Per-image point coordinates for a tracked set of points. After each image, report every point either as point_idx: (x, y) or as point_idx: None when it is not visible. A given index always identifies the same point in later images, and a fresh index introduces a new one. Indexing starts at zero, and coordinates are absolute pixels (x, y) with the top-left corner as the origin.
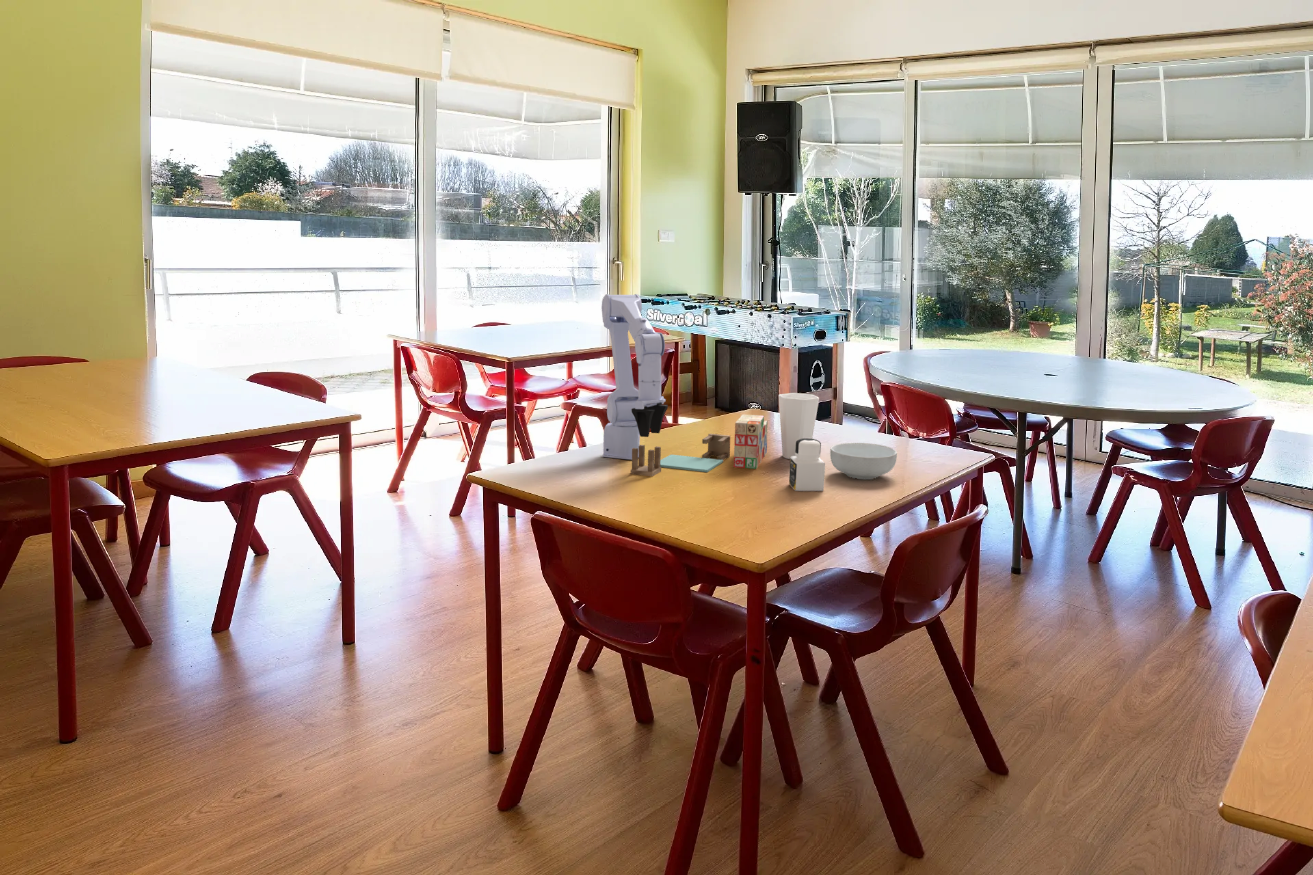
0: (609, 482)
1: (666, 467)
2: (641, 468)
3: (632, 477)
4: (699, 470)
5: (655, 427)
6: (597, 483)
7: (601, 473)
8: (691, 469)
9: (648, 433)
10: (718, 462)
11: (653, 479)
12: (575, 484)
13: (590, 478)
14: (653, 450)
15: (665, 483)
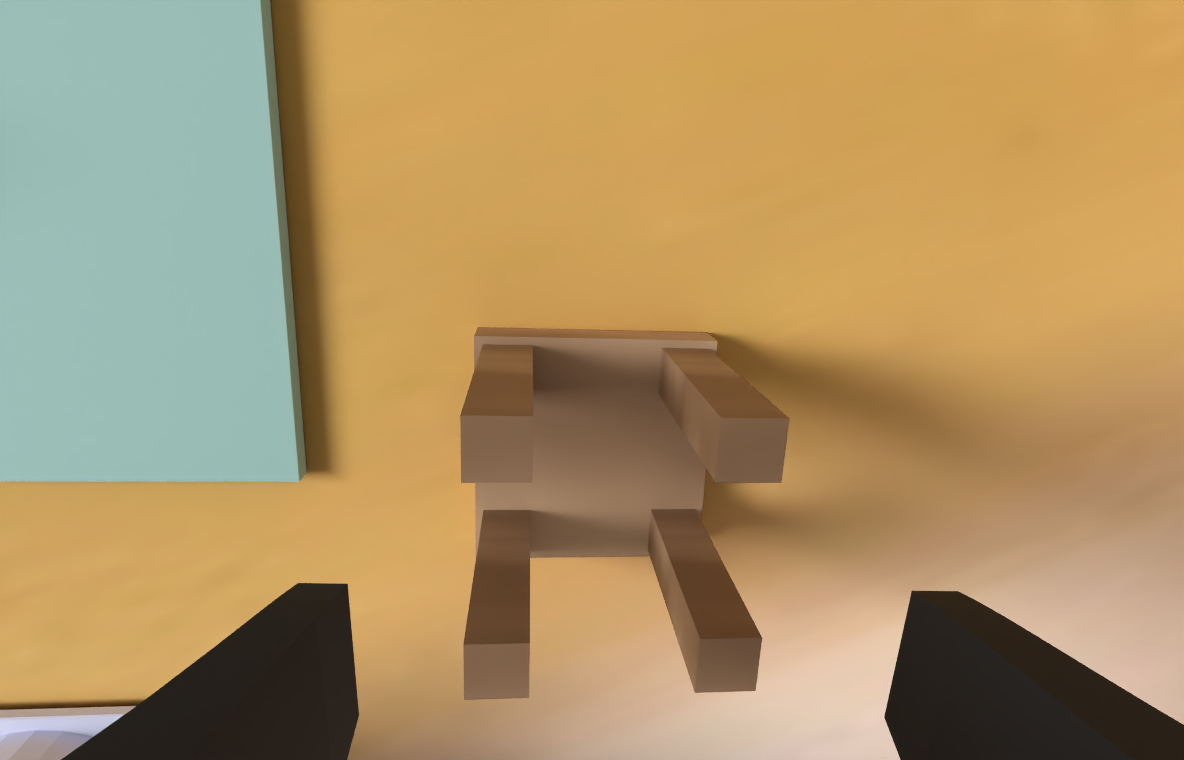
0: (1028, 563)
1: (295, 335)
2: (612, 490)
3: (811, 473)
4: None
5: (303, 740)
6: (1079, 624)
7: (764, 725)
8: (266, 28)
9: (1007, 621)
10: None
11: (822, 280)
12: None
13: None
14: (758, 417)
15: (940, 116)
